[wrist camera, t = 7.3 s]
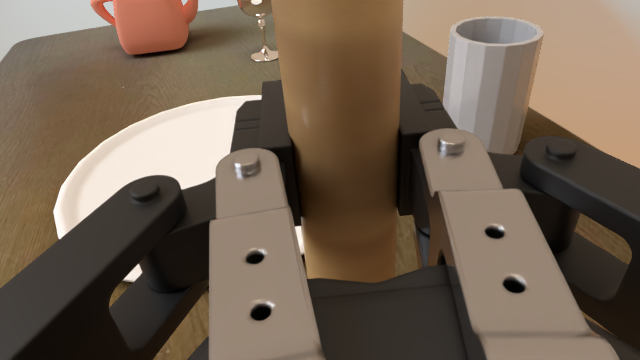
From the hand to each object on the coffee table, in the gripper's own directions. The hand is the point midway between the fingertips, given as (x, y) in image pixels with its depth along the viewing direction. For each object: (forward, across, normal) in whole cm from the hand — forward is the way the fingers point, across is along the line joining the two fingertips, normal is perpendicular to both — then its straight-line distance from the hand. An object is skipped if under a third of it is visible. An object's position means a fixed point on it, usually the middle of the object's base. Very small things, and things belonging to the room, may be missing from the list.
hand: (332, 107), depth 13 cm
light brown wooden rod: (-3, 0, +14) cm, 15 cm away
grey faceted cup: (+26, -16, +19) cm, 36 cm away
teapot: (+64, +23, +19) cm, 70 cm away
